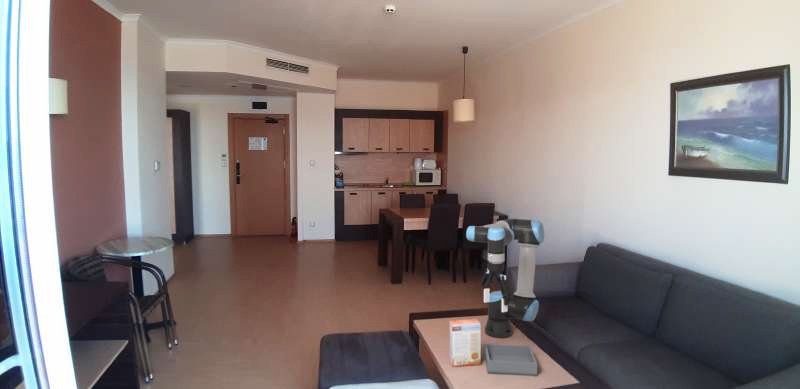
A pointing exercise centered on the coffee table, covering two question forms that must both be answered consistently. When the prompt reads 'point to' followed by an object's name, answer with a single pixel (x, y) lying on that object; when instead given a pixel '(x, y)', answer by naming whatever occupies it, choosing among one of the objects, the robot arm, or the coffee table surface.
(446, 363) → the coffee table surface
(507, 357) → the pantry crate
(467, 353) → the cracker box
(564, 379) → the coffee table surface
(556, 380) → the coffee table surface
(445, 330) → the coffee table surface
